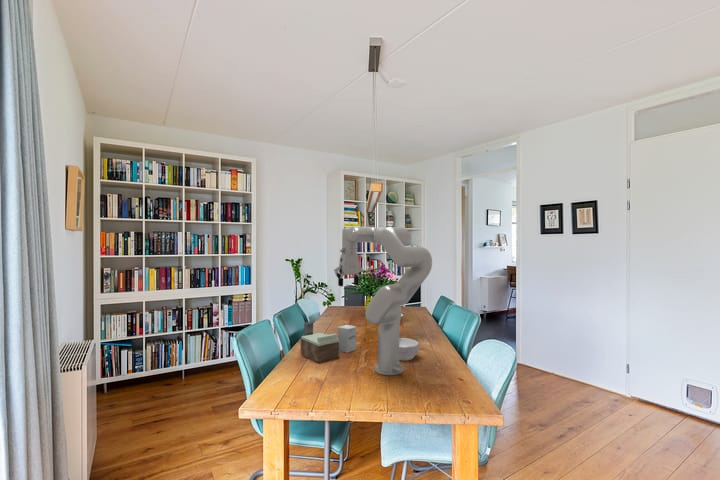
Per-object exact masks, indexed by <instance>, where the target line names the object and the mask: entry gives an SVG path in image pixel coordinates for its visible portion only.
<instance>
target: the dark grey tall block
mask: <svg viewBox="0 0 720 480" xmlns="http://www.w3.org/2000/svg"><path fill="white" fill-rule="evenodd" d="M303 330H304V331H303V333H304V334H303V335H304V336H307V335H312V334H314V322H311V321H307V322H304V323H303Z"/></svg>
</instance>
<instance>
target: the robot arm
mask: <svg viewBox="0 0 720 480" xmlns="http://www.w3.org/2000/svg"><path fill="white" fill-rule="evenodd" d="M341 235H342V236H341V237H342V238H341V249H340V250H339V251H340V253H341V254H340V256H339V263H338V266H337V267H336V268H335V269H333V271H334V272H333V273H334V274H335V276H336V278H337V280H338V281H337V285H338V287H344V278H343V277H344V276H345V275H346V276H347V275H349V276H350V275H353V285H355V286H359V282H360V279H359V278H360V277H361V274H362V272H363V267H361V266H360V259H359V258H360V257H359V254H357V251H358V249H357V248H358V243H373V244H374V243H375V244H377V245H379V246H381V247H383V248H384V249H385V252H386V254H388V255H389V257H390V260H392V261H393V263H394V264H395V265H397V266H398V267H399V268H408V269H407V270H406V271H405V272H404V273H403V274H402V275H401V277H400V278H399V280H398V281H397V282H395V283H393V284H386V285H383V286H381V287H379V289H377V291H376V293H375V294H374V296H373V297H372V299H371V300H370V301H369V303H368V305H367V306H366V308H365V309H366V310H365V318H366V321H368V323H369V324H371V325H378V329H377V330H378V332H377V364H376V365H374V372H375V373H377V374H378V375H383V376H397V375H399V374H402V373H403V372H404V370H406V369H405V368H406V367H404V366H402V364H401V363H402V361H401V360H399V338H400V324H401V318H402V313H403V312H402V307H401V306H405V305H406V304H408V303H409V301H410V300H411V298H413V296H414V294H415V293H416V292H417V291H418V289H419V288H420V287H421V285H423V283H424V281H426V279H427V278H428V276H429V275H430V272H431V270H432V268H433V267H432V266H433V257H432V254H431V252H430V251H429V250H428V249H427V248H425V247H422V246H416V245H415V246H414V245H413V246H407V245H408V244H409V243H410V242H411V238H412V237H411V236H412V235H411V233H410V231H409V230H408V229H406V228H404V227H397V226H379V227H363V226H353V227H346V226H345V227H343V228H342V234H341Z"/></svg>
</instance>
